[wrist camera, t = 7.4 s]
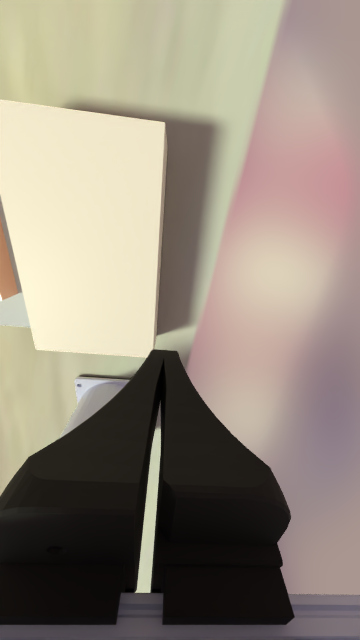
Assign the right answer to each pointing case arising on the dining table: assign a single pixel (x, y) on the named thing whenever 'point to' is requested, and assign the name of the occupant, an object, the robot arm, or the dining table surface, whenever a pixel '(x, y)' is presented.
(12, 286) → the terracotta tile
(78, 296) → the cream rectangular block
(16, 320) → the mat
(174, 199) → the dining table surface
